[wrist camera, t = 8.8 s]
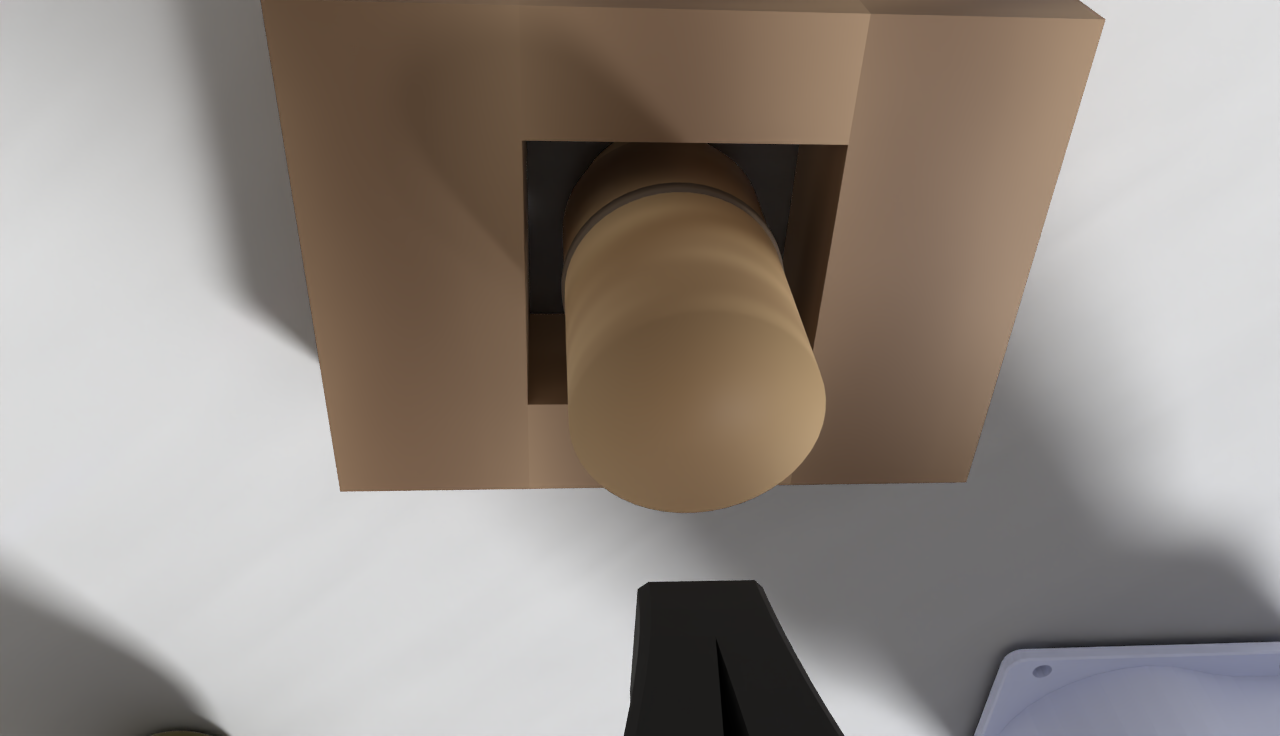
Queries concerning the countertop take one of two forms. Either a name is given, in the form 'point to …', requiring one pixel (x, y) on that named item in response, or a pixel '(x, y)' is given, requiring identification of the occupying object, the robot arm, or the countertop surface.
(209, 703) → the countertop surface
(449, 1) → the board
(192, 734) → the cup
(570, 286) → the peg
